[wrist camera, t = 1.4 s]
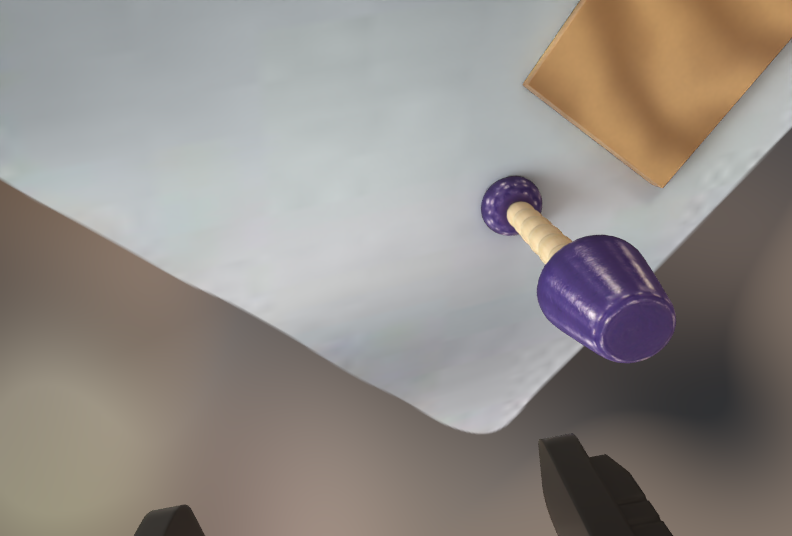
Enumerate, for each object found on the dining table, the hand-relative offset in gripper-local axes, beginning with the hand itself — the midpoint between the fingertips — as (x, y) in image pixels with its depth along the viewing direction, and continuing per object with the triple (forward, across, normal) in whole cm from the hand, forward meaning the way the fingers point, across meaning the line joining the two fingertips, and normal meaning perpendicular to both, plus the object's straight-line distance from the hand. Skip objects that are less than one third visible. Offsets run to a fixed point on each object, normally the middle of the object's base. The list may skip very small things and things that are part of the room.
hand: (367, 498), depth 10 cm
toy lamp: (+22, -10, +1) cm, 24 cm away
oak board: (+22, -23, -10) cm, 33 cm away
